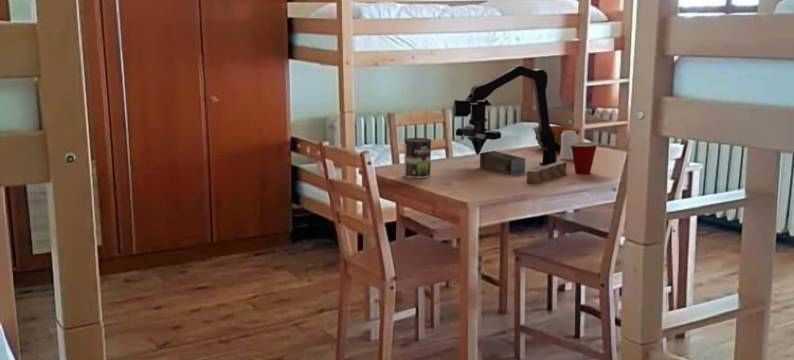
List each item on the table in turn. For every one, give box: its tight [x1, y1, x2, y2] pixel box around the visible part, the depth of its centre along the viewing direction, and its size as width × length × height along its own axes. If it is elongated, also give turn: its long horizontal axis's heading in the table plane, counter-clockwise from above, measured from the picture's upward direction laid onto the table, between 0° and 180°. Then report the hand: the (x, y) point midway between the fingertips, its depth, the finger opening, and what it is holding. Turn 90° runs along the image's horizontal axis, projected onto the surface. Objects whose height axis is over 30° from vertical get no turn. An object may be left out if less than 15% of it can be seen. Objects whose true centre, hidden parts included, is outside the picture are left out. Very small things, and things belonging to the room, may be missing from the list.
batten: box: [526, 160, 567, 185], centre depth 311 cm, size 26×3×4 cm, turn 142°
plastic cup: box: [570, 141, 599, 175], centre depth 321 cm, size 11×11×12 cm
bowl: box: [533, 125, 581, 151], centre depth 373 cm, size 21×21×10 cm
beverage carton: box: [479, 150, 526, 175], centre depth 327 cm, size 8×19×7 cm, turn 35°
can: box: [560, 130, 578, 161], centre depth 350 cm, size 6×6×12 cm
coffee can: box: [403, 137, 432, 179], centre depth 313 cm, size 10×10×14 cm
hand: (477, 154), depth 333 cm, fingers closed
